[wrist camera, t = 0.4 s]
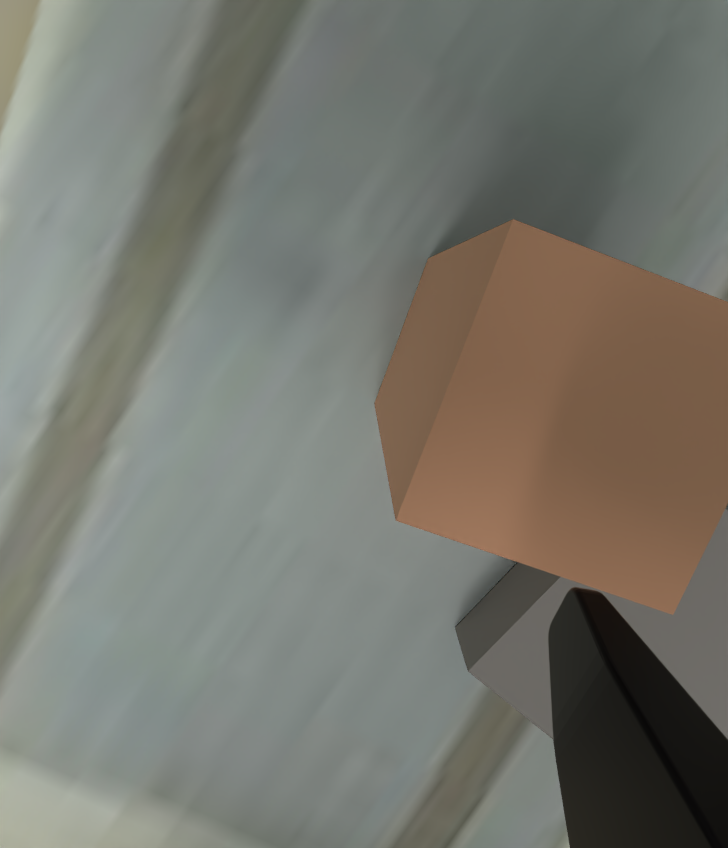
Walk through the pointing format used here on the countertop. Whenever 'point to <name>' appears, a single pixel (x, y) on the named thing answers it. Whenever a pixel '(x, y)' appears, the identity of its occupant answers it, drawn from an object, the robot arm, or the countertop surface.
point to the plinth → (662, 632)
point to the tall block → (561, 412)
